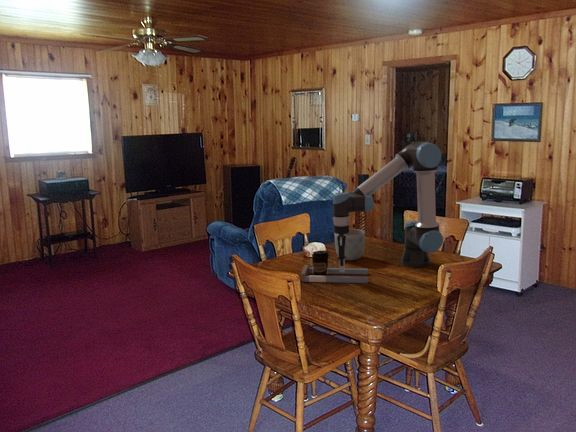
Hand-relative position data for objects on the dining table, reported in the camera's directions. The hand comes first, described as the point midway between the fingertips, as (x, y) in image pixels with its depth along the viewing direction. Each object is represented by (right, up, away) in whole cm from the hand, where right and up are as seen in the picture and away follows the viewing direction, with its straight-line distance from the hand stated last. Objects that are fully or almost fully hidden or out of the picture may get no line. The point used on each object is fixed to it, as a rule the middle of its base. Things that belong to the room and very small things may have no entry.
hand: (342, 271), depth 259 cm
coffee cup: (-10, -3, +2) cm, 11 cm away
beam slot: (-2, -3, +1) cm, 4 cm away
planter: (+8, +3, +34) cm, 35 cm away
